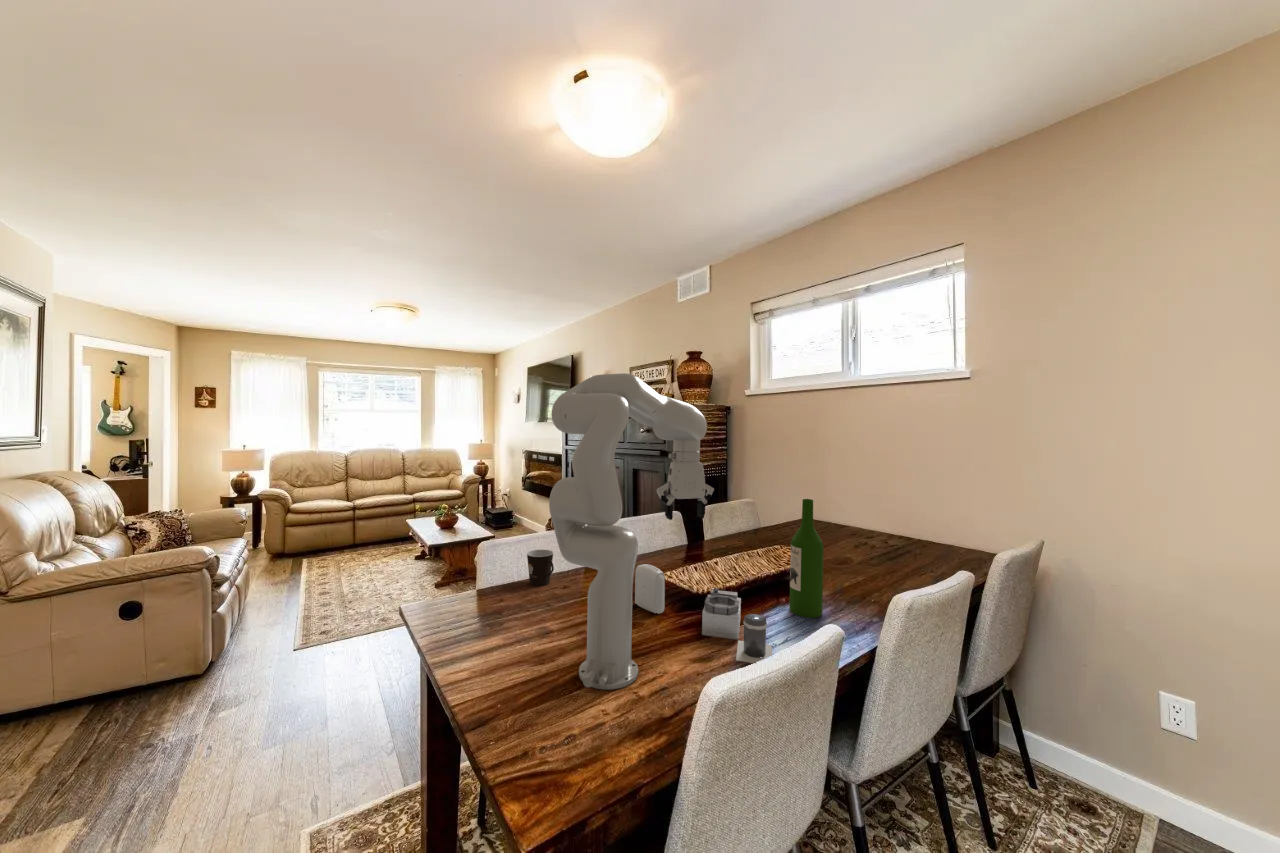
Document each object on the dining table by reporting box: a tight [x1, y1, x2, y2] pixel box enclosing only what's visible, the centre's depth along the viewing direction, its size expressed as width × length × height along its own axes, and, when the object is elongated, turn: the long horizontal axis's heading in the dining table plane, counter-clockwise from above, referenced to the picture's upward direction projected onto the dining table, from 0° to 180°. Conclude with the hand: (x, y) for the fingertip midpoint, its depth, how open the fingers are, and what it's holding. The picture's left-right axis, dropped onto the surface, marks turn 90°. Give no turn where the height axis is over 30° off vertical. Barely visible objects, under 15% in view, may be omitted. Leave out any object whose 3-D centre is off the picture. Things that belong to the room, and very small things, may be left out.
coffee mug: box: [526, 549, 554, 587], centre depth 152 cm, size 12×9×10 cm
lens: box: [743, 613, 768, 658], centre depth 108 cm, size 5×5×8 cm
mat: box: [735, 639, 773, 664], centre depth 108 cm, size 10×8×1 cm
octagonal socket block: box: [701, 587, 742, 641], centre depth 122 cm, size 13×9×8 cm
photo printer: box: [634, 563, 666, 615], centre depth 134 cm, size 10×4×12 cm, turn 39°
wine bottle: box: [789, 498, 825, 619], centre depth 134 cm, size 9×9×32 cm
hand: (685, 518), depth 130 cm, fingers open, 9 cm apart
